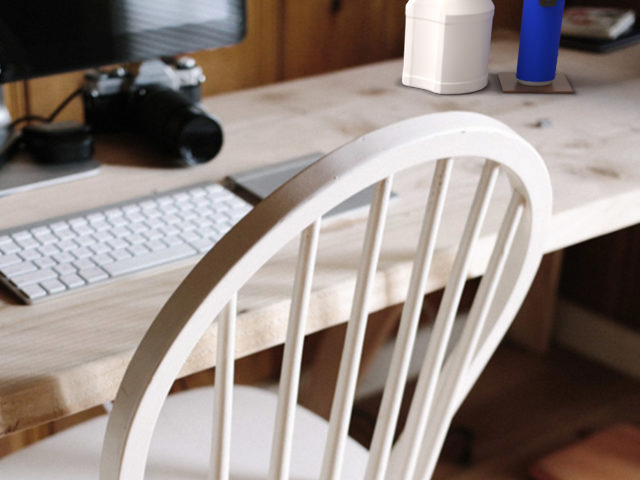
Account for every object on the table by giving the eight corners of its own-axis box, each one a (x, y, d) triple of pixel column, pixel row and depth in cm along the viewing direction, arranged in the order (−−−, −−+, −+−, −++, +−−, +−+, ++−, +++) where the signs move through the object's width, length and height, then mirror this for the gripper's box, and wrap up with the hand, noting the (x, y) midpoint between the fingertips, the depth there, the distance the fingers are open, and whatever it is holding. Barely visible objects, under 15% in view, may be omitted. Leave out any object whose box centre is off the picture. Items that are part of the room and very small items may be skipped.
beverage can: (549, 76, 141) (564, -41, 133) (558, 86, 136) (573, -34, 129) (511, 77, 141) (524, -40, 133) (519, 87, 137) (532, -33, 129)
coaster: (563, 75, 142) (563, 73, 142) (572, 93, 135) (573, 91, 135) (497, 75, 143) (497, 73, 143) (503, 92, 136) (503, 90, 135)
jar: (389, 82, 141) (394, -34, 134) (434, 69, 147) (442, -43, 139) (454, 98, 134) (464, -24, 126) (500, 84, 139) (512, -34, 131)
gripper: (523, -149, 131) (509, -9, 140) (536, -140, 119) (520, 13, 128) (583, -150, 130) (566, -9, 139) (603, -141, 118) (582, 13, 127)
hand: (544, 1), depth 133 cm, fingers closed on beverage can, 5 cm apart
